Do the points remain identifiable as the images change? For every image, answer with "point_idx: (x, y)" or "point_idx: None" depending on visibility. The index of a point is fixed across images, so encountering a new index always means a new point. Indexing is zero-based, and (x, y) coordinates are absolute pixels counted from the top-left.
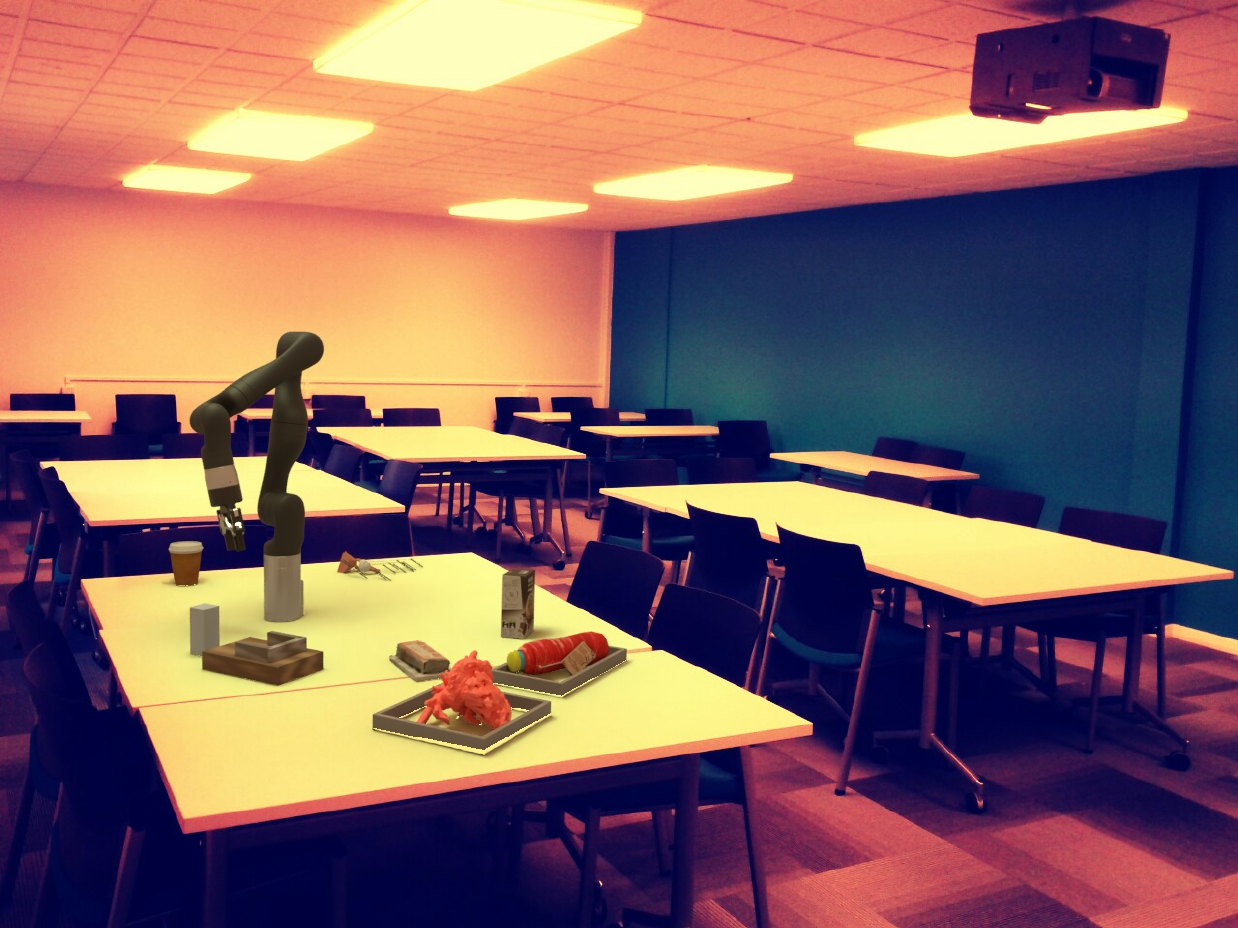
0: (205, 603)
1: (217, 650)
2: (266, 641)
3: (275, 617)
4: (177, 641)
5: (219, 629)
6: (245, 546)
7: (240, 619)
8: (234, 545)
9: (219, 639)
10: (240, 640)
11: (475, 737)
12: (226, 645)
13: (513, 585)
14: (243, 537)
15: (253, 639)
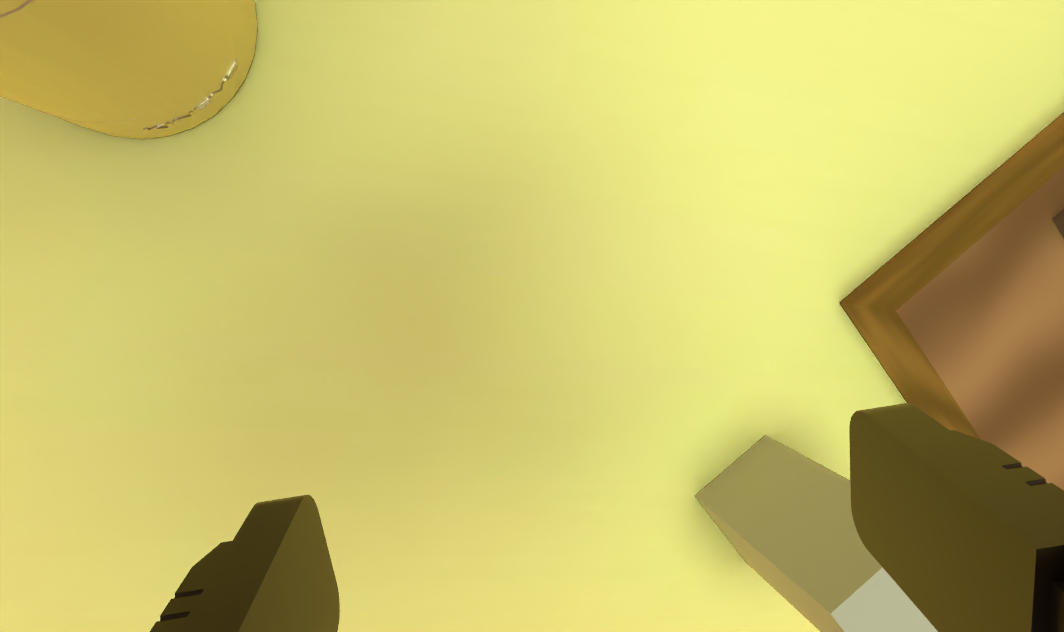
0: (832, 611)
1: (1061, 477)
2: (1005, 240)
3: (237, 76)
4: (507, 627)
5: (830, 470)
6: (927, 415)
7: (98, 284)
8: (302, 547)
9: (800, 454)
10: (941, 363)
11: None
12: (999, 434)
13: None
14: (1055, 504)
15: (947, 298)
